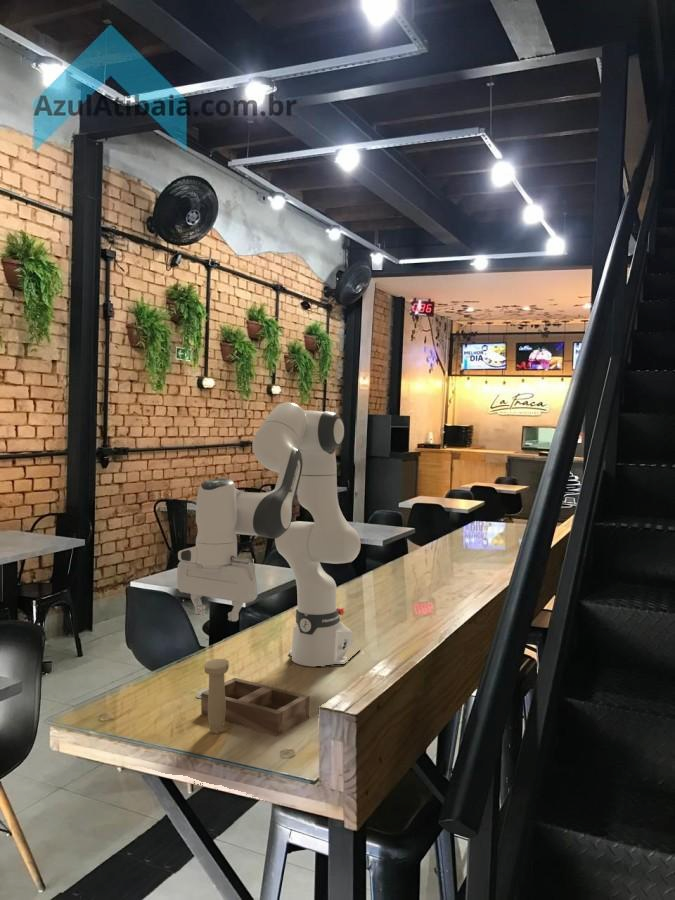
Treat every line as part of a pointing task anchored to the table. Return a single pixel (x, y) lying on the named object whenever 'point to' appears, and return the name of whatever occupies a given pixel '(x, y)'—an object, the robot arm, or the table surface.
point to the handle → (216, 694)
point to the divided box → (261, 706)
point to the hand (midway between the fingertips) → (216, 617)
